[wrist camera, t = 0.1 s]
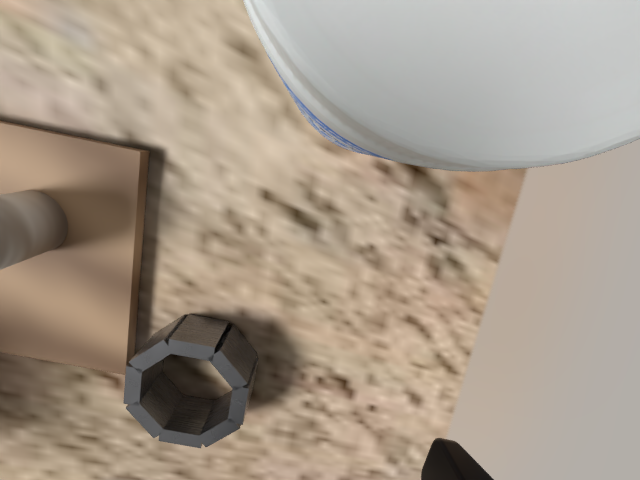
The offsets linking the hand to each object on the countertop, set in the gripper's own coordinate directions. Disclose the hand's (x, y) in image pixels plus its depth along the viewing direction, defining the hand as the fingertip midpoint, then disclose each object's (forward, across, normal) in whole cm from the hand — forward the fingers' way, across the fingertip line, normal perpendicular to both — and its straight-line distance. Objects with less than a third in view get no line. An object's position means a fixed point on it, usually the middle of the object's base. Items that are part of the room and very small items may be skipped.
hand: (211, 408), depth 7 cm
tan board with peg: (+14, +14, +4) cm, 21 cm away
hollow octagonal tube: (+14, +4, +10) cm, 18 cm away
